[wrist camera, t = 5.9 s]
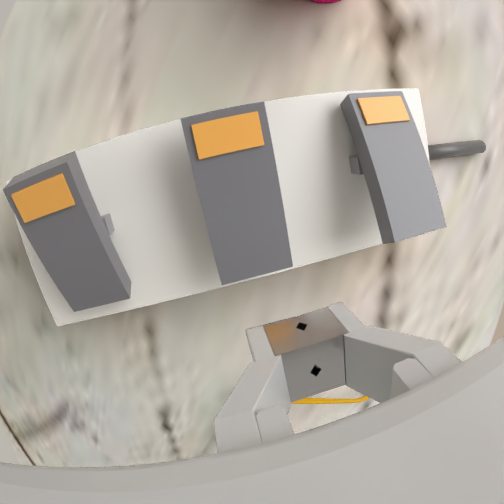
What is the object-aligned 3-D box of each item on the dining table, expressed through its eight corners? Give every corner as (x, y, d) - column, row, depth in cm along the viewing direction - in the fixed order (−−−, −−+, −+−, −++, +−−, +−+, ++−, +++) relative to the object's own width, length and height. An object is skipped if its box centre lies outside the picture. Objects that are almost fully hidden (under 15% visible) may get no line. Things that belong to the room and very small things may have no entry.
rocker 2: (181, 119, 14) (180, 118, 13) (257, 103, 15) (264, 101, 13) (219, 273, 18) (222, 286, 16) (285, 256, 18) (293, 267, 17)
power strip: (33, 175, 19) (-5, 183, 14) (472, 94, 22) (512, 92, 17) (75, 302, 22) (52, 337, 17) (482, 197, 26) (520, 208, 21)
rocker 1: (13, 177, 13) (1, 191, 11) (75, 151, 13) (66, 163, 12) (77, 295, 18) (73, 313, 17) (131, 281, 18) (130, 300, 17)
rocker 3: (339, 104, 17) (348, 92, 16) (391, 100, 17) (403, 89, 16) (382, 243, 17) (396, 242, 15) (432, 229, 17) (448, 226, 16)
